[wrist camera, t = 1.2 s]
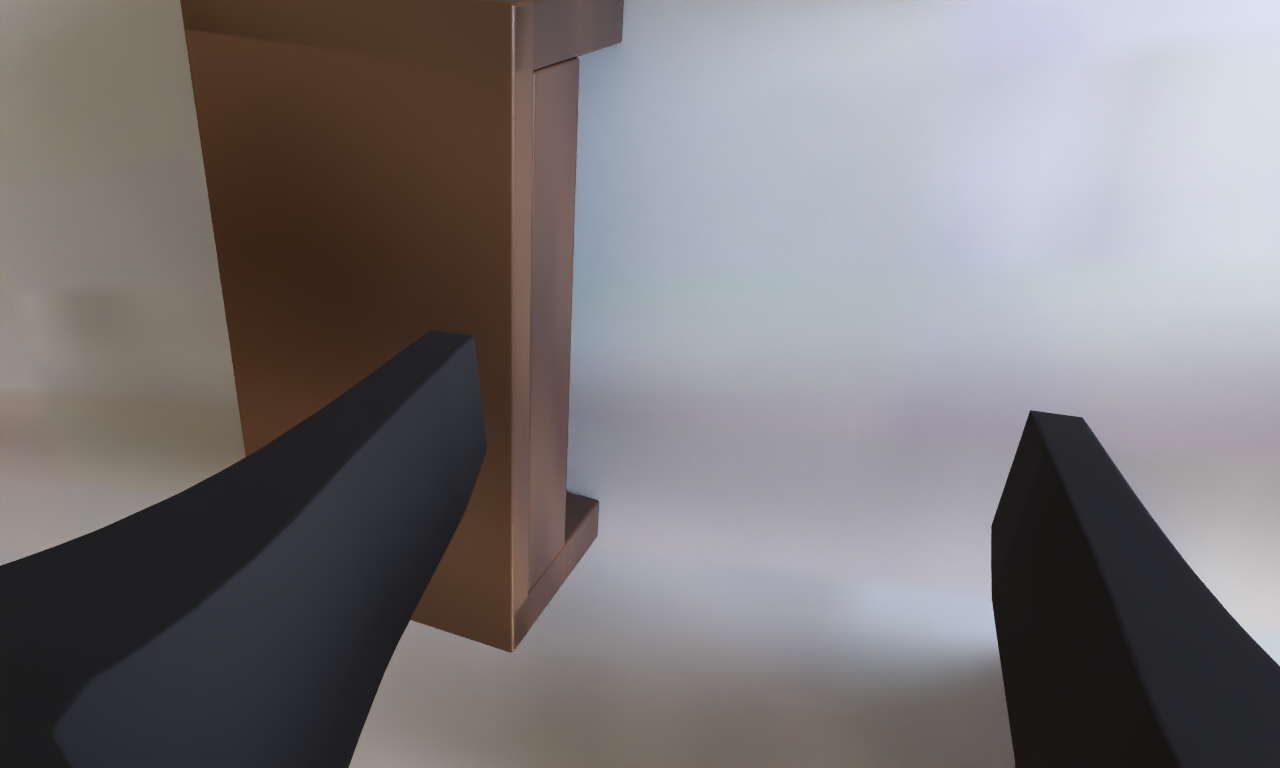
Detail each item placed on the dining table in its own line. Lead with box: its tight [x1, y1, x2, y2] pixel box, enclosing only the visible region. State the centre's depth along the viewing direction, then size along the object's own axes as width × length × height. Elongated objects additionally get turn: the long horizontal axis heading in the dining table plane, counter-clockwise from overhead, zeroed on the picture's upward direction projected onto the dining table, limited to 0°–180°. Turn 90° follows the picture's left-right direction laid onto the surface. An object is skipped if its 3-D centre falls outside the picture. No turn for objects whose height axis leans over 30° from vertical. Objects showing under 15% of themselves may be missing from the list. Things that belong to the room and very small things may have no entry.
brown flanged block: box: [180, 0, 624, 652], centre depth 22 cm, size 14×7×5 cm, turn 176°
